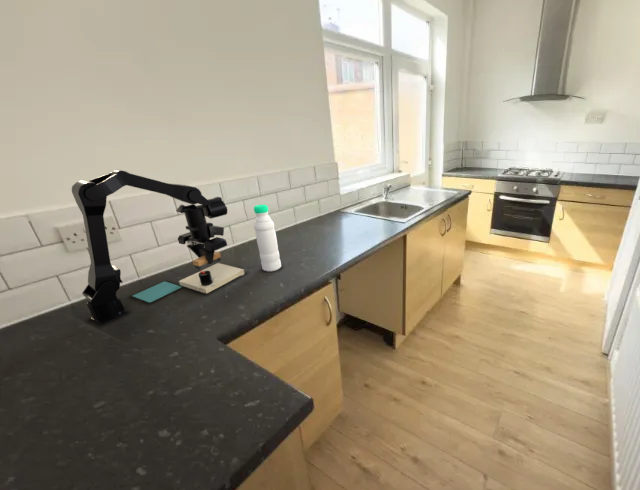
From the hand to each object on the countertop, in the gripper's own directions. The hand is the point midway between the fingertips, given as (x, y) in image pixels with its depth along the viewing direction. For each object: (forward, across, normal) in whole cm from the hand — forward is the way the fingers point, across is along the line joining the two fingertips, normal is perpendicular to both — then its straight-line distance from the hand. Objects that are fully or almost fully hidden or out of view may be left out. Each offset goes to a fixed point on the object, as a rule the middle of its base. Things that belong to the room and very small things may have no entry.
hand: (208, 262), depth 117 cm
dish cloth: (+6, +6, +16) cm, 18 cm away
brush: (+1, 0, 0) cm, 1 cm away
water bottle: (+6, -16, -14) cm, 22 cm away
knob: (+3, -8, +7) cm, 11 cm away
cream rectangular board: (+6, -4, +2) cm, 7 cm away
